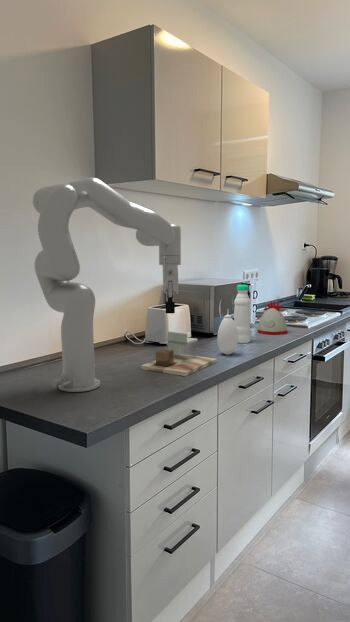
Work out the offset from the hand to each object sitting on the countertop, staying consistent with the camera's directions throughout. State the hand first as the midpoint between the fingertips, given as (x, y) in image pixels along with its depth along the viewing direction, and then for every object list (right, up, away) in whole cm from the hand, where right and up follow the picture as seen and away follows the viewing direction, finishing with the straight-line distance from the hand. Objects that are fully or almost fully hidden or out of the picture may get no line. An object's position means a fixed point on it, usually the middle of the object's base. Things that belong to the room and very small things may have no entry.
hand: (170, 312), depth 169 cm
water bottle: (+31, -13, +41) cm, 53 cm away
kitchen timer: (+49, -10, +63) cm, 80 cm away
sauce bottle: (+22, -16, +18) cm, 33 cm away
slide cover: (+5, -16, +9) cm, 19 cm away
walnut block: (-2, -19, -1) cm, 19 cm away
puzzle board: (+3, -19, +2) cm, 19 cm away
